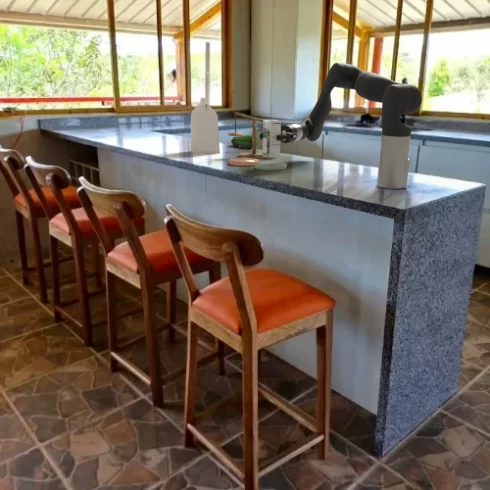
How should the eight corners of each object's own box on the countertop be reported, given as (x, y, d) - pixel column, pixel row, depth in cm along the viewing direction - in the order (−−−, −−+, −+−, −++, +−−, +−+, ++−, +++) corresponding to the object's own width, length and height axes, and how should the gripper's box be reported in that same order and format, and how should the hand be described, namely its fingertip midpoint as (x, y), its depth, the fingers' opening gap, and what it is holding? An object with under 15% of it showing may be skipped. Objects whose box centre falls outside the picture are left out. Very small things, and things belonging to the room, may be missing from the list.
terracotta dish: (258, 161, 212) (258, 157, 211) (259, 166, 200) (259, 162, 199) (229, 161, 212) (229, 157, 211) (228, 166, 199) (228, 162, 199)
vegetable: (252, 133, 245) (229, 130, 260) (247, 146, 246) (224, 142, 260) (262, 138, 250) (238, 135, 265) (257, 151, 250) (234, 147, 265)
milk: (219, 153, 234) (219, 98, 226) (197, 154, 230) (195, 98, 222) (212, 150, 245) (211, 97, 236) (190, 151, 241) (188, 97, 232)
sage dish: (285, 165, 203) (285, 161, 202) (288, 170, 190) (288, 166, 190) (254, 165, 202) (254, 161, 202) (255, 170, 190) (255, 166, 190)
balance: (279, 156, 227) (280, 111, 220) (280, 158, 221) (282, 112, 214) (228, 155, 227) (228, 111, 220) (227, 158, 220) (227, 112, 213)
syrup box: (261, 156, 197) (262, 119, 192) (274, 155, 199) (275, 119, 194) (267, 158, 192) (267, 121, 187) (280, 157, 194) (281, 120, 189)
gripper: (276, 123, 206) (254, 126, 194) (305, 125, 198) (284, 128, 185) (276, 140, 208) (254, 145, 196) (304, 143, 200) (283, 148, 188)
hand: (268, 137), depth 191 cm, fingers closed on syrup box, 7 cm apart
